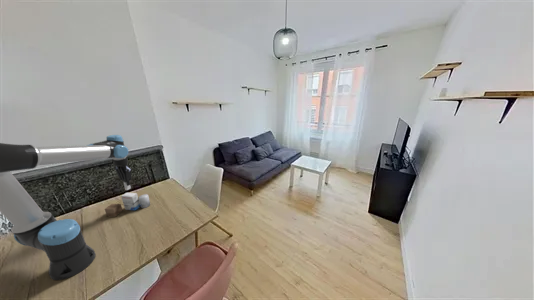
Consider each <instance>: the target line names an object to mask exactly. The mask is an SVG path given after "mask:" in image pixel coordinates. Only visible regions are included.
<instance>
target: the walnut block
mask: <svg viewBox="0 0 534 300" xmlns="http://www.w3.org/2000/svg"><path fill="white" fill-rule="evenodd" d="M104 211H105V214H106V217H114V218H116V217H117V216H118V215H119V214H120V213H122V212H123V207H122V203H111V204H109V206H107V207H105V208H104Z"/></svg>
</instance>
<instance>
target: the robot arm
mask: <svg viewBox="0 0 534 300" xmlns="http://www.w3.org/2000/svg"><path fill="white" fill-rule="evenodd" d="M128 155H129V148H128V147H127V146H125V144H124V139H123V137H122V135H121V134H112V135H108V136H106V140H103V141H99V142H94V143H93V142H92V143H90V144H86V145H64V146H62V145H59V146H58V145H57V146H34V145H32V144H13V143H12V144H11V143H3V142H0V213H1V215H3V216H4V217H5V219H7V220H8V221H9V222H10V223H11V224H12V225H13V226H12V227H11V229H10V230H11V233H13V237H14V241H16V242H17V243H18V244H20V245H22V246H28V247H31V248H34V249H37V250H41V251H44V252H45V254H46V256H47V258H48V260H49V268H48V275H49V278H50V279H52V280H53V281H61V280H65V279H68V278H71V277H73V276H75V275H78V274H79V273H81V272H82V271H84V270H85V269H87V268H88V267H90V265H91V264H92V263H93V261H95V259H96V257H97V256H96V252H95V250H94V248H92V247H91V246H90V245H88V244H87V243H86V240H85V238H84V235H83V232H82V230H81V226H80V224H79V223H78V222H77V221H76V219H73V218H64V219H59V220H57V219H56V218H55V216H54V215H53V214H52V213H51V212H50V211H43V210H42V208H40V206H39V205H38V204H37V202H36V201H35V200H34V199H33V197H32V196H31V195H30V194H29V192H27V190H26V189H25V188H24V186H23V185H22V184H21V183H20V182H19V181H18V179H17V177H15V175H13V173H12V172H16V171H25V170H32V169H35V168H37V167H38V166H46V165H54V164H55V165H57V164H65V163H66V164H67V163H73V162H74V163H76V162H85V161H92V160H93V161H96V160H104V159H105V160H106V159H112V161H113V162H112V163H113V165H114V167H113V169H114V170H115V172H116V174H117V176H118V178H119V181H121V182H123V186H124V189H125V191H129V190H130V189H132V187H131V182H130V181H132V178H133V177H132V167H129V165H128V163H129V160H128Z"/></svg>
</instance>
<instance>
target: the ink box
mask: <svg viewBox="0 0 534 300" xmlns="http://www.w3.org/2000/svg"><path fill="white" fill-rule="evenodd" d="M120 198H121V201H122V204H123V207H124V209H125V210H126V211H137V210H139V208H141V206H140V202H139V196H138V193H137V192H125V193H124V194H122V195H121V196H120Z"/></svg>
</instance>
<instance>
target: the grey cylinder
mask: <svg viewBox="0 0 534 300" xmlns="http://www.w3.org/2000/svg"><path fill="white" fill-rule="evenodd" d="M149 196H150V195H149V194H147V193H144V194H141V195H139V196H138V199H139V203H140V208H141V209H146V208H148V207H150V206H151V202H150V197H149Z"/></svg>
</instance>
